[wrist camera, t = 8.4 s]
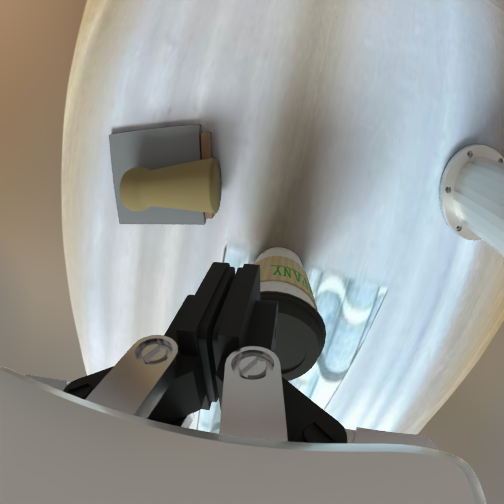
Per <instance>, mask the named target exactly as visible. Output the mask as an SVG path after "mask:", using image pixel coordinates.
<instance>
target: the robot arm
mask: <svg viewBox="0 0 504 504" xmlns="http://www.w3.org/2000/svg"><path fill="white" fill-rule="evenodd" d="M467 153H468V154H467ZM446 187H447V188H446ZM439 199H440V206H441V211H442V214H443V217H444V219H445V221H446V223H447V224H448V225H449V227H450V228H451V229H452V230H453V231H454V232H455V233H456V234H458V235H459V236H461V237H462V238H465V239H468V240H480V239H482V240H484V241H485V242H486V243H487V244H488V245H490V246H491V247H492V248H493V249H494V250H496V251H497V252H498V253H499V254H500V255H501V256H502V257H504V157H503V156H502V155H501V154H500V153H499V152H498V151H496V150H495V149H493V148H491V147H489V146H486V145H481V144H473V145H469V146H466V147H464V148H463V149H461V150H459V151H458V152H457V153H456V154H455V155H454V156H453V157H452V158H451V160H450V161H449V162H448V164H447V166H446V168H445V170H444V173H443V176H442V179H441V184H440V198H439ZM277 324H278V301H265V300H260V265H256V264H244V266H243V268H238V269H237V272H236V274H235V268H234V267H230V265H229V263H219V262H213V264H212V265H211V267H210V269H209V271H208V272H207V274H206V276H205V278H204V279H203V281H202V283H201V285H200V287H199V288H198V290H197V292H196V294H195V295H188V296H187V297H186V299H185V301H184V302H183V304H182V306H181V308H180V309H179V311H178V313H177V314H176V316H175V318H174V319H173V321H172V323H171V325H170V326H169V328H168V330H167V331H166V333H165V335H164V336H162V335H151V336H148V337H144V338H142V339H140V340H138V341H137V342H136V343H135V344H134V345H133V346H132V347H131V348H130V349H129V350H128V351H127V353H126V354H125V355H124V356H123V357H122V358H121V359H120V360H119V361H118V363H117V364H116V365H115V366H113V367H111V368H108V369H105V370H102V371H99V372H97V373H94V374H91V375H88V376H85V377H82V378H79V379H77V380H75V381H73V382H71V383H70V384H69V382H68V381H66V380H58V379H51V378H44V377H37V376H31V375H23V374H20V373H18V372H15V371H13V370H10V369H8V368H5V367H2V366H0V504H487V503H486V500H485V496H484V493H483V491H482V488H481V485H480V483H479V480H478V478H477V476H476V474H475V473H474V471H473V470H472V468H471V467H470V466H469V465H468V464H467V463H466V462H465V461H464V460H462V459H460V458H459V457H457V456H454V455H452V454H449V453H446V452H443V451H439V450H437V447H436V446H435V444H434V443H433V441H431V440H430V439H429V438H427V437H424V436H420V435H413V434H403V433H394V432H386V431H378V430H371V429H365V428H358V427H357V428H356V431H355V430H349V429H344V427H343V426H342V425H341V424H340V423H339V422H338V421H337V420H336V419H334V418H333V417H332V416H330V415H329V414H328V413H327V412H325V411H324V410H323V409H321V408H320V407H319V406H318V405H316V404H315V403H314V402H313V401H311V400H310V399H309V398H308V397H306V396H305V395H304V394H303V393H302V392H300V391H299V390H298V389H297V388H295V387H294V386H293V385H292V384H291V383H289V382H288V381H287V380H286V379H285V378H283V377H282V376H281V367H280V361H279V359H278V357H277V356H276V355H275V345H276V337H277ZM218 398H219V402H220V408H221V419H220V431H219V434H216V433H210V432H205V431H199V430H194V429H189V426H190V425H191V423H192V421H193V418H194V412H196V411H198V410H200V409H205V410H209V409H210V406H211V403H212V402H217V400H218Z"/></svg>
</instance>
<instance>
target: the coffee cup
mask: <svg viewBox="0 0 504 504" xmlns="http://www.w3.org/2000/svg"><path fill="white" fill-rule="evenodd" d="M254 264H256V265H260V300H265V301H278V324H277V337H276V345H275V355H276V356H277V357H278V359H279V361H280V367H281V376H282V377H283V378H285V379H286V380H287V381H289V380H293V379H295V378H298V377H300V376H301V375H303V374H305V373H306V372H307V371H309V370H310V369H311V368H312V366H313V365H314V364H315V362H316V360H317V358H318V357H319V356H320V354H321V352H322V350H323V347H324V344H325V338H326V330H325V324H324V322H323V319H322V317H321V316H320V314H319V313H318V311H317V306H316V303H315V300H314V297H313V293H312V290H311V287H310V284H309V281H308V277H307V275H306V272H305V271H304V268H303V265H302V262H301V260H300V258H299V257H298V256H297V255H296V254H295V253H294V252H292V251H291V250H289V249H286V248H282V247H275V248H270V249H267V250H265V251H264V252H262V253H261V254H260V255H259V256H258V258H257V259H256V261H255V263H254Z"/></svg>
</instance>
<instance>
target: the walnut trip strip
mask: <svg viewBox="0 0 504 504" xmlns="http://www.w3.org/2000/svg"><path fill="white" fill-rule="evenodd" d="M201 149H202V160H204V159H209V158H212V156H211V132H206V133H201ZM213 217H214V213H208V212H205V218H213Z"/></svg>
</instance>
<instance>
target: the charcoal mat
mask: <svg viewBox="0 0 504 504" xmlns="http://www.w3.org/2000/svg"><path fill="white" fill-rule="evenodd" d="M109 141H110V153H111V163H112V172H113V181H114V189H115V197H116V204H117V210H118V217H119V223H120V224H198V225H204V224H205V212H200V211H191V210H183V209H174V208H165V207H156V206H151V207H149V208H148V209H147V210H144V211H131V210H129V209H128V208H126V207H125V206H124V204H123V203H122V200H121V197H120V182H121V178H122V176H123V174H124V173H125V172H126V171H127V170H129V169H131V168H134V167H144V168H147V169H149V170H154V169H159V168H163V167H168V166H173V165H178V164H183V163H188V162H193V161H198V160H202V157H201V134H200V124H198V125H185V126H174V127H163V128H154V129H146V130H138V131H130V132H123V133H117V134H111V135H109Z"/></svg>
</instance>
